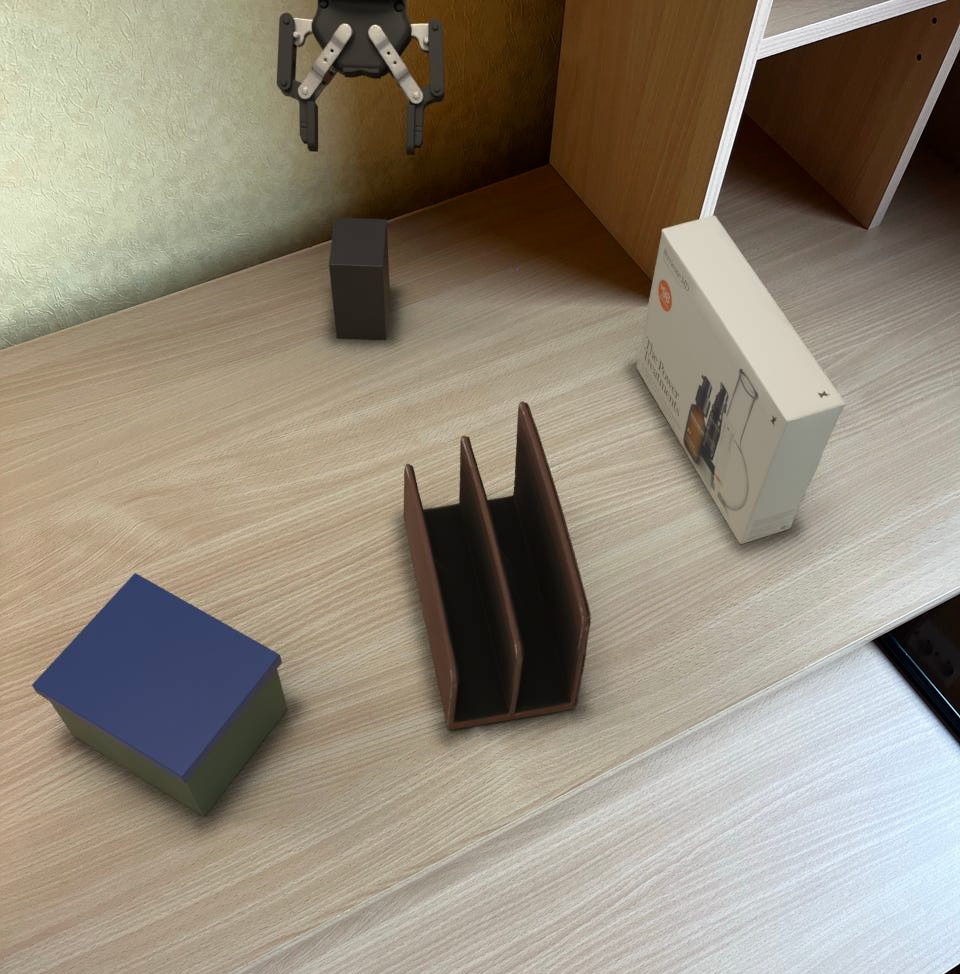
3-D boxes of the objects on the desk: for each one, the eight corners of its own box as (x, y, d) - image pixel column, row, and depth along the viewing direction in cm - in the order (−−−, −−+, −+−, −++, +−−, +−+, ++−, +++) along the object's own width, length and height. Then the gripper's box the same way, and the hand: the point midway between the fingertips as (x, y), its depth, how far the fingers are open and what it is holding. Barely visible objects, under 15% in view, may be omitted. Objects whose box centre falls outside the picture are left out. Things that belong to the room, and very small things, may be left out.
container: (66, 737, 80) (30, 685, 73) (159, 630, 84) (134, 572, 77) (205, 823, 77) (182, 777, 70) (293, 708, 82) (280, 654, 74)
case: (336, 338, 101) (328, 264, 93) (341, 292, 104) (334, 217, 96) (386, 340, 101) (382, 266, 93) (390, 293, 104) (386, 219, 96)
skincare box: (628, 369, 100) (659, 225, 86) (682, 355, 101) (721, 210, 87) (734, 549, 90) (788, 419, 77) (792, 531, 91) (855, 400, 78)
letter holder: (519, 502, 92) (533, 384, 80) (577, 710, 82) (602, 613, 70) (402, 519, 91) (397, 401, 78) (447, 733, 81) (449, 637, 69)
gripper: (448, -39, 95) (443, 162, 99) (284, -46, 95) (286, 156, 99) (447, -70, 88) (442, 148, 92) (269, -79, 88) (272, 141, 92)
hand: (361, 152), depth 96 cm, fingers open, 8 cm apart
